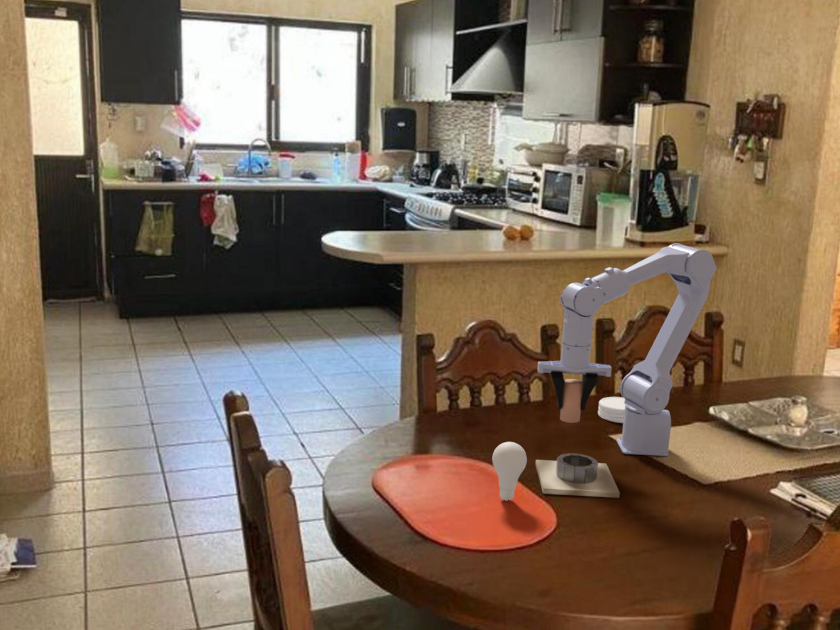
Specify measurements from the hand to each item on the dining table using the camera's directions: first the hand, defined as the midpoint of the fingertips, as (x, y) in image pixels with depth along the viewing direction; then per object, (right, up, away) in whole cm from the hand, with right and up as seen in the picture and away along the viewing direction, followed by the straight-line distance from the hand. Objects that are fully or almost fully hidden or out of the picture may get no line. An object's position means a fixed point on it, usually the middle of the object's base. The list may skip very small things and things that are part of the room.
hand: (570, 408), depth 181 cm
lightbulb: (-15, -15, -21) cm, 30 cm away
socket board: (-1, -13, -10) cm, 17 cm away
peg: (0, -2, +1) cm, 2 cm away
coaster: (+16, -5, +28) cm, 33 cm away
